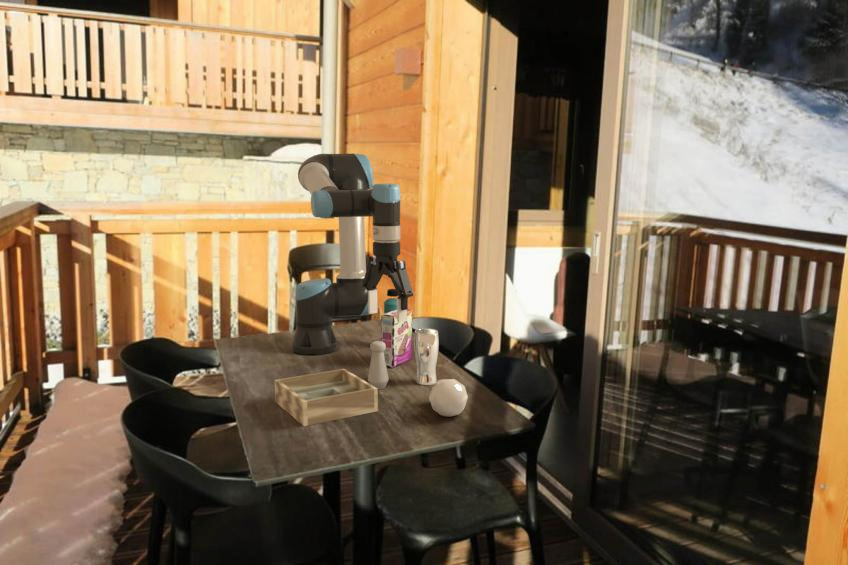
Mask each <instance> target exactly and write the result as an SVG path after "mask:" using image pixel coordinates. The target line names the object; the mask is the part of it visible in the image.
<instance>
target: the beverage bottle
mask: <svg viewBox="0 0 848 565" xmlns="http://www.w3.org/2000/svg"><path fill="white" fill-rule="evenodd" d="M386 296H387V297H390V298H387V299H385V300H384V302H383V314H385V313H388V312H391V311H394V310H397V298H398V297H399V295H398V293H397V291H396V289H395V288H388V289H387V293H386ZM392 297H393V298H392Z"/></svg>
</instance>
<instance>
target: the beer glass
mask: <svg viewBox="0 0 848 565" xmlns="http://www.w3.org/2000/svg"><path fill="white" fill-rule="evenodd" d="M413 341H414V347H413V348H414V350H413V351H414V356H415V362H416V378H415V383H417V385H421V386H433V385H435V384H436V383H437V381H438V379H437V373H436V372H437V371H436V368H437V363H438V357H439V348H440V347H439V346H440V343H439V341H440V340H439V331H438V330H437V329H435V328H428V327H427V328H418V329H416V330H415V331H414V340H413Z"/></svg>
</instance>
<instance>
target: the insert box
mask: <svg viewBox="0 0 848 565" xmlns="http://www.w3.org/2000/svg"><path fill="white" fill-rule="evenodd" d="M378 390H379V389H378V388H376V387H374V386H373V385H371V384H369V382H367V381H366V380H365V379H362V378H361V377H359V376H358V375H355V374H354V373H352V372H351V371H349V370H348V369H345V368H339V369H332V370H327V371H320V372H315V373H310V374H309V373H308V374H303V375H297V376H290V377H284V378H278V379H274V400H275V401H274V402H275V403H276V404H277V405H278V406H280V408H282V409H283V410H286V411H285V412H287V413H288V414H289V415H290V416H291V417H292V416H293V418H294V419H295V420H296V421H297V422H298V423H299V424H301V425H302V426H303V427H306V426H312V425H317V424H322V423H326V422H330V421H335V420H341V419H347V418H352V417H356V416H361V415H365V414H370V413H375V412H379V394H378V393H379V392H378Z"/></svg>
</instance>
